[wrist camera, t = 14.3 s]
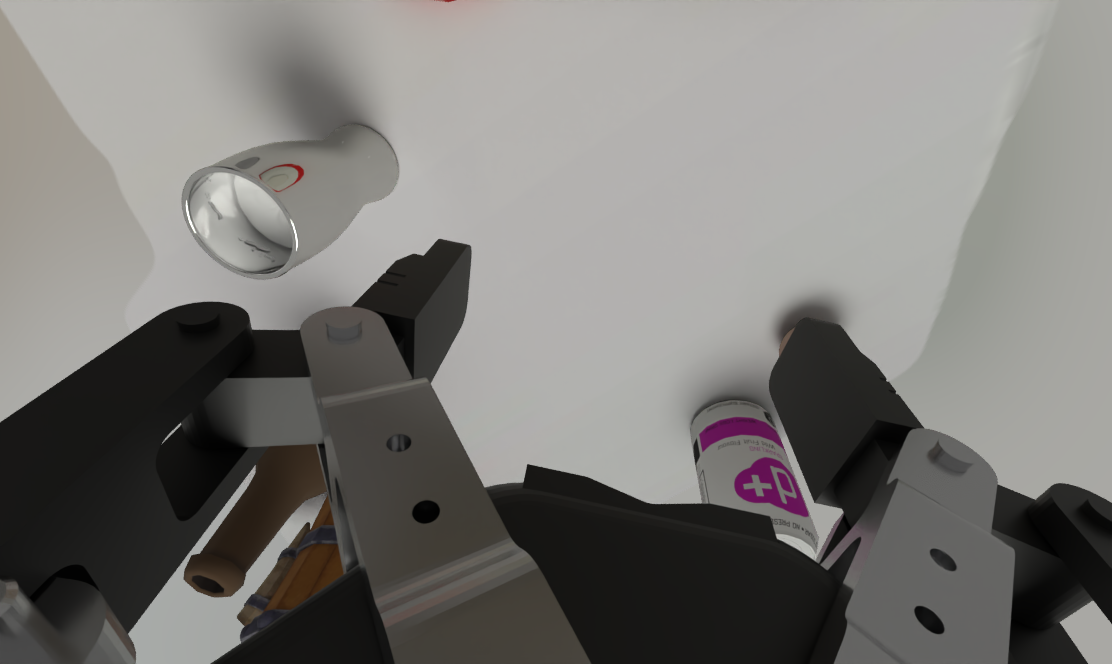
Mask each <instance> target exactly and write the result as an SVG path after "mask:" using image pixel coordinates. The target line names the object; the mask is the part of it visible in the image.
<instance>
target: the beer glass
mask: <svg viewBox="0 0 1112 664" xmlns="http://www.w3.org/2000/svg"><path fill="white" fill-rule="evenodd" d="M398 173H399V171H398V163H397V159H396V156H395V154H394V152H393V150H392V148H391V147H390V145H389V144H388V142H387V141H386V140H385V139H384V138H383V137H382V136H381V135H380V134H378V133H377V132H376V131H374V130H372V129H370V128H368V127H366V126H362V125H355V124H351V125H344V126H341V127H339V128H337V129H336V130H334V131H333V132H332V133H331V134H330V135H328V136H327V137H326V138H325V139H323V140H299V141H283V142H274V143H268V144H265V145H261V146H257V147H253V148H250V149H248V150H245V151H242V152H239V153H237V154H234V155H232V156H230V157H228V158H226V159H223V160H221V161H219V162H217V163H215V164H213V165H211V166H209V167H205V168H202V169H200V170H198V171H197V172H195V173H194V174H193V175H191V176H190V178H189V179H188V180H187V182H186V184H185V186H184V189H183V193H182V209H183V214H184V218H185V221H186V223H187V226H188V228H189V230H190V232H191V233H192V235H193V237H194V238H195V240H196V241H197V242H198V244H199V245H200V246H201V247H202V249H203V250H204V251H205V252H206V253H207V254H208V255H209V256H210V257H211V258H213V259H214V260H215V261H216V262H218V263H219V264H220V265H222V266H223V267H225V268H227V269H228V270H230V271H232V272H234V273H236V274H239V275H241V276H244V277H248V278H252V279H261V280H265V279H273V278H276V277H279V276H281V275H283V274H285V273H286V272H288V271H289V270H290V269H292V268H294V267H296V266H298V265H300V264H302V263H303V262H305V261H307V260H309V259H310V258H312V257H314V256H315V255H317V254H318V253H320V252H321V251H323V250H324V249H326V248H327V247H328V246H329V245H331V244H332V243H333V242H334V241H335V240H337V239H338V238H339V237H340V236H341V234H342V233H343V232H344V231H345V230H346V229H347V228H348V226H349V225H350V224H351V222H352V221H353V220H354V218H355V217H356V216H357V214H358V213H359V211H360V210H361V209H362V208H363V206H364V205H366V204H368V203H372V202H376V201H379V200H382V199H384V198H385V197H387V196H388V195H389V194H390V193H391V192H392V191H393V190H394V188H395V186H396V184H397V180H398Z"/></svg>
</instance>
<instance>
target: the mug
mask: <svg viewBox="0 0 1112 664" xmlns="http://www.w3.org/2000/svg"><path fill="white" fill-rule="evenodd" d="M343 574H344V572H343V568H342V563H341V558H340V553H339V547H338V542H337V536H336V530H335V525H334V520H333V516H332V511H331V507H330V503H329V498H328V494H327V497H326V499H325V501H324V504H323V506H322V508H321V510H320V512H319V514H318V516H317V518H316V520H315V522H314V524H313V526H312V528H311V530H310V523H309V522H307V523H306V524H305V525H304V527H303V528H302V529H301V530H300V532H299V533H298V534H297V536H296V537H295V539H294V540H293V541H292V543H291V544H290V545H289V547H288V548H286V549H285V550H283V551H282V552H281V554H280V556H279V558H278V561H277V564H276V565H275V567H274V568H273V570H272V571H271V573H270V574H269V575H268V577H267V578H266V579H265V581H264V582H263V583H262V585H261V586H260V587H259V588H258V590H257V591H256V592H255V594H252V595H251V596H250V598H249V599H248V600H247V601H246V603H245V604H244V608H243V609H242V610H241V612H240V613H239V614H238V616H237V619H238V620H239V621H240V622H241V623H242V624H243V625H244V626H245V627H244V628H243V629H242V631H241V634H240V639H241V643H242V642H244V641H245V640H247V639H248V638H250V637H251V636H253V635H254V634H256V633H257V632H259V631H260V630H262V629H263V628H265V627H266V626H268V625H269V624H271V623H272V622H273V621H275V620H276V619H278V618H279V617H281V616H282V615H284V614H285V613H287V612H288V611H290V610H291V609H293V608H294V607H296V606H297V605H299V604H300V603H302V602H303V601H305V600H306V599H308V598H309V597H311V596H312V595H314V594H315V593H317V592H318V591H320V590H321V589H323V588H324V587H326V586H327V585H329V584H330V583H332V582H333V581H335V580H336V579H338V578H339V577H340V576H342V575H343Z"/></svg>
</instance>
